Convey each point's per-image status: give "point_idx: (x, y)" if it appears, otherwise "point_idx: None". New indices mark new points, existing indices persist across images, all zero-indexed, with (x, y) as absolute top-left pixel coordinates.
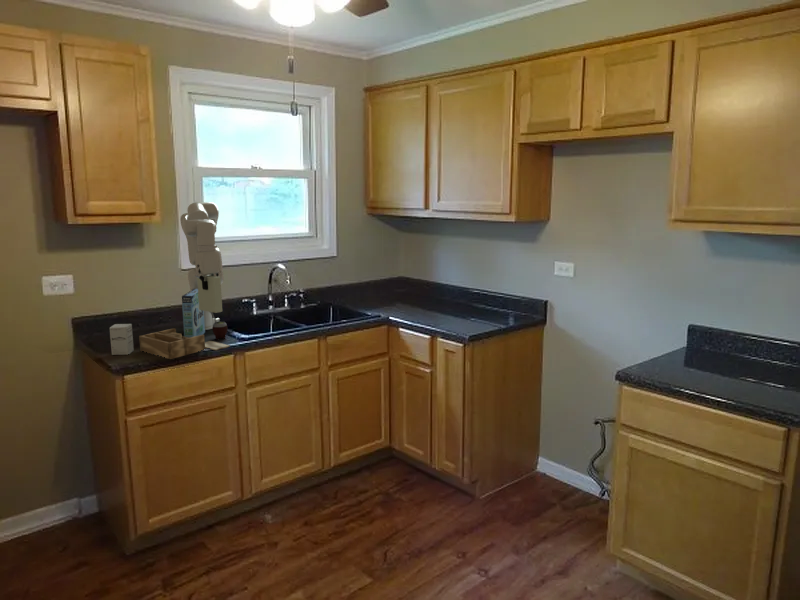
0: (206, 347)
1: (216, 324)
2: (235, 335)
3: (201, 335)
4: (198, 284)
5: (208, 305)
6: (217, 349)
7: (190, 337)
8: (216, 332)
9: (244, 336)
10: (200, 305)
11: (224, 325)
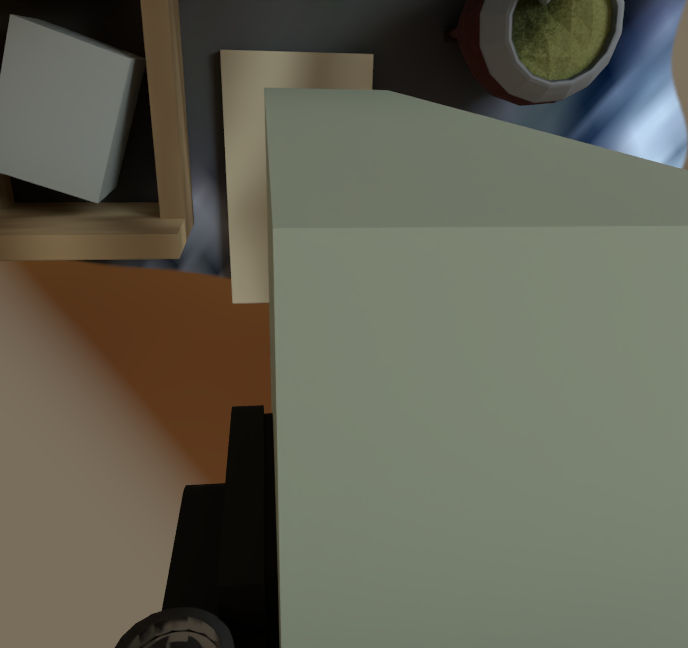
0: (227, 196)
1: (502, 43)
2: (638, 54)
3: (148, 258)
4: (268, 196)
5: (270, 349)
6: (250, 300)
7: (33, 236)
8: (462, 53)
9: (639, 150)
10: (265, 137)
11: (550, 98)
